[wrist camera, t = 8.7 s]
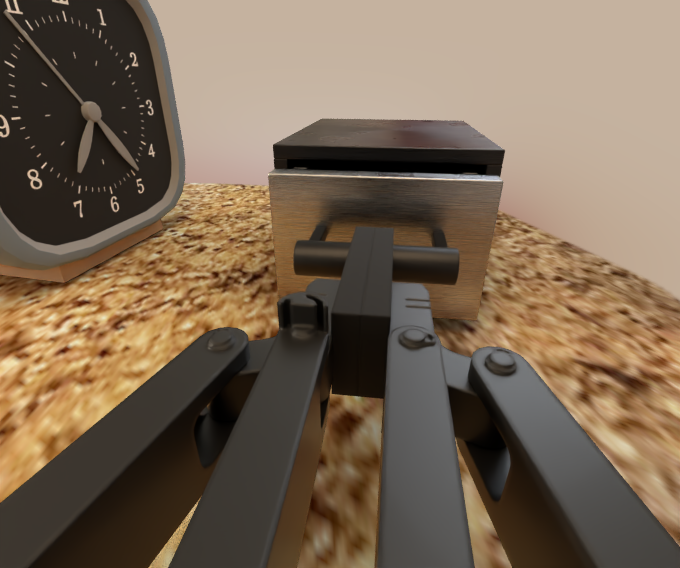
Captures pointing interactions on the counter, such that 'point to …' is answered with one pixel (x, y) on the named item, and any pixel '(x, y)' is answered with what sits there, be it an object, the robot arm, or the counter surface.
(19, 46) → the alarm clock
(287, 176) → the drawer
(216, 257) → the counter surface
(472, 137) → the cabinet
